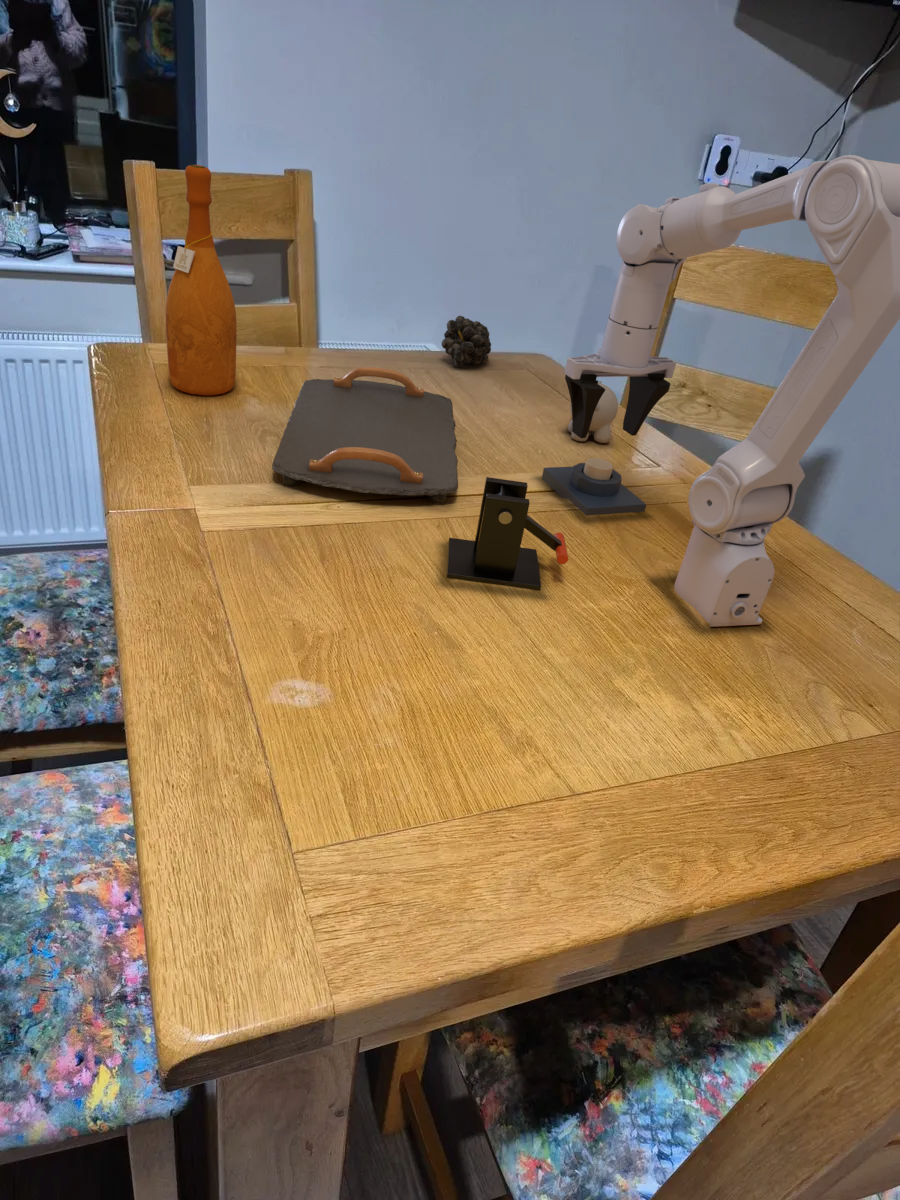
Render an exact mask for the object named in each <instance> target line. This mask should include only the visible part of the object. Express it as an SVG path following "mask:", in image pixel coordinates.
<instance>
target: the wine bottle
mask: <svg viewBox="0 0 900 1200" xmlns="http://www.w3.org/2000/svg"><path fill="white" fill-rule="evenodd" d="M184 176H185V181H186V183H185V185H186V194H185V201H186V202H187V203H188V222H187V223H188V224H187V230H186V234H185V236H184V247H183V246H180V245H178V246H177V249H176V253H175V257H174V262H173V266H172V268H173V269H175V270H174V272H173V275H172V277H171V280H170V283H169V287H168V291H167V295H166V299H165V301H166V302H165V335H166V336H165V337H166V351H167V352H166V353H167V365H168V366H167V367H168V375H169V381H170V383H171V385H172V386H173V387H174V388H175V389H177V390H178V391H181V392H184V393H185V394H191V395H197V396H217V395H222V394H225V393H227V392H230V391H231V390H232V389H233V388H234V386H235V383H236V373H237V371H236V370H237V311H236V310H237V309H236V304H235V300H234V296H233V292H232V290H231V286H230V284H229V281H228V278H227V276H226V273H225V271H224V269H223V266H222V264H221V261H220V259H219V256H218V253H217V251H216V248H215V247H216V246H215V242H214V237H213V232H212V228H211V220H210V219H211V218H210V217H211V216H210V205H212V203H213V202H212V201H213V200H212V195H211V184H212V183H211V182H212V172H211V170H210V169H209V168H208V167H206V166H205V165H200V164H189V165H187V166H186V167H185V170H184Z"/></svg>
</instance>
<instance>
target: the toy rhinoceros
mask: <svg viewBox="0 0 900 1200" xmlns="http://www.w3.org/2000/svg"><path fill="white" fill-rule="evenodd" d="M598 384H599V385H600V386H602V387H603V388H605V392H604V393H603V395H602V397H601V398H600V400H599V402H598V404H597V406H596V409H595V411H594V414H593V417H592V421H591V425H590V428H589V431H588V434H587V436H586V438H580V437H578V436H577V435H576V434H574V433H573V432H572V419H571V420H570V421H569V423H568V426H567V431H568V432H569V433H570V434H571V435H570V437H571V439H573V440H575V441H577V442H586V441H587V440H588V438H589V437H591V436H593V439H594V441H596V442H597V443H599V444H600V443H601V444H606V443H608V442H610V440H611V437H612V428H611V424H613V421H614V420H615V419H616V417H617V414H618V410H619V403H618V398H617V396H616V394H615V392H614V391H613V390H612V388H610V387H609V386H608V385H606V384H603V383H602V381H601V380H600V381H599V380H598ZM569 409H570V413H571V414H570V415H571V416H572V405H571V404H570V408H569Z"/></svg>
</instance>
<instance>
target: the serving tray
mask: <svg viewBox="0 0 900 1200" xmlns="http://www.w3.org/2000/svg"><path fill="white" fill-rule="evenodd" d="M360 377H372V378H374V377H375V378H380V379H381V378H382V379H388V380H391V381H396V382H398V383H401V384H402V385H403V386H402V385H398V384H393V383H387V382H378V381H373V380H371V381H369V380H358V379H357V378H360ZM453 407H454V405H453V401H452V399H451V398H449V397H446V396H445V395H441V394H437V393H432V392H428V391H425V389H424V388H420V387H417V386H416V385H415V383H414V382H413V381H412V379H410V377H408V375H406V374H404V373H402V372H399V371H397V370H394V369H390V368H385V367H384V368H383V367H376V366H363V367H362V366H361V367H356V368H354V369H352V370H350V371H349V372H348V373H346V374H345V375H344V376H342V377H334V378H333V379H322V378H313V379H306V380H305V381H304V382H303V383H302V386H301V388H300V390H299V392H298V395H297V398H296V399H295V401H294V406H293V409H292V410H291V413H290V416H289V418H288V420H287V423H286V426H285V429H284V430H283V435H282V437H281V439H280V442H279V445H278V447H277V450H276V454H275V455H274V458H273V461H272V464H271V470H272V471H273V472H275V473H277V474H280V475H282V476H281V483H282V485H284V486H286V487H290V488H291V487H297V486H299V485H300V481H303V482H306V483H308V484H309V483H310V484H313V485H316V486H321V487H324V488H325V487H326V488H332V489H333V488H334V489H338V490H344V491H345V490H346V491H349V492H354V493H362V494H370V495H386V496H387V495H393V496H407V497H408V496H409V497H410V496H413V497H414V496H428V500H429V501H430V502H431V503H433V504H437V505H442V504H445V503H446V501H447V495H448V494H454V493H456V492H458V489H459V479H458V477H459V476H458V463H459V460H458V456H457V455H456V447H457V442H458V440H457V436H456V433H455V430H456V426H457V424H456V421H455V419H454V410H453Z"/></svg>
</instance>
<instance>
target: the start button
mask: <svg viewBox="0 0 900 1200" xmlns="http://www.w3.org/2000/svg"><path fill="white" fill-rule="evenodd" d="M584 463H585V467H584V471H583V474H585V475H586V476H588V477H590V478H593V479H597V480H609V479H610V477H611V473H612V469H614V464H612V463H611V461H608V460H606V459H603V458H599V457H590V458H587V459H586V460H585V462H584Z"/></svg>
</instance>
